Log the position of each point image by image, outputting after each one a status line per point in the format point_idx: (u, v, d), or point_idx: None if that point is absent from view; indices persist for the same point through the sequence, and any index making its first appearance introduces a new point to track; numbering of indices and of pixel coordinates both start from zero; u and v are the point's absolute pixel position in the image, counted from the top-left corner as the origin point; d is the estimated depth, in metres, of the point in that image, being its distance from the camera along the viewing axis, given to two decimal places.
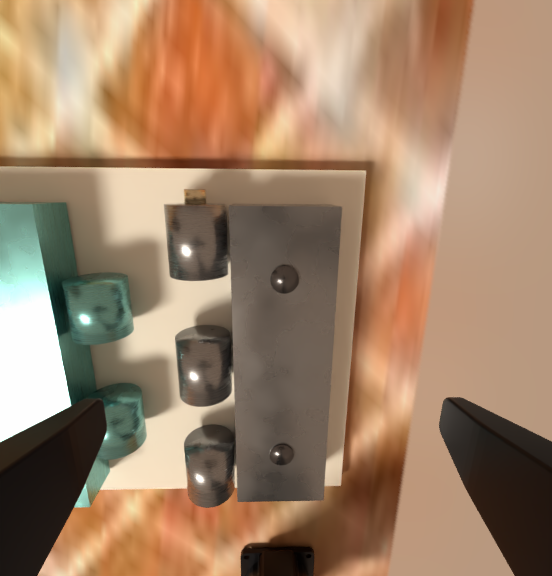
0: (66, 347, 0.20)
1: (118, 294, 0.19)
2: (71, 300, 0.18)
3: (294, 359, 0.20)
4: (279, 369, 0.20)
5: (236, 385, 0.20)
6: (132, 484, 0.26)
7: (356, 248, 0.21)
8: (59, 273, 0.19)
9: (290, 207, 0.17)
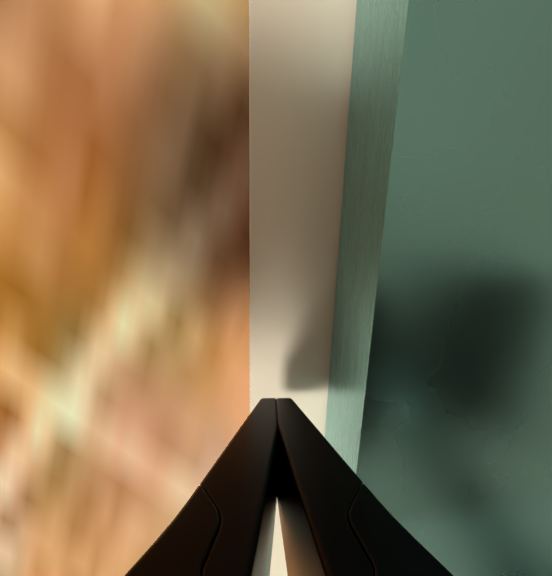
0: None
1: None
2: None
3: None
4: None
5: None
6: None
7: None
8: None
9: None
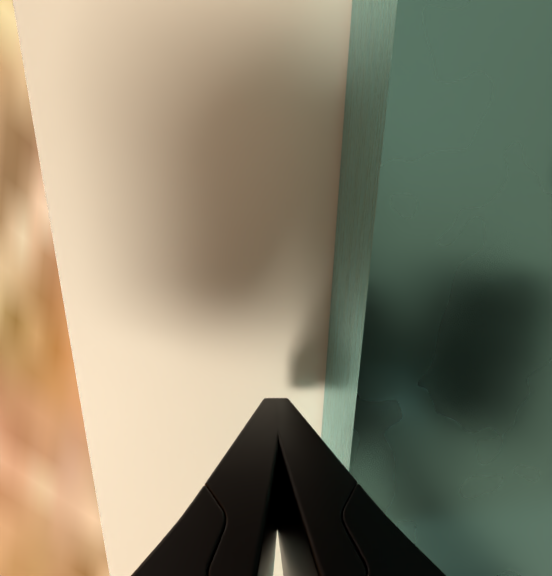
0: None
1: None
2: None
3: None
4: None
5: None
6: None
7: None
8: None
9: None
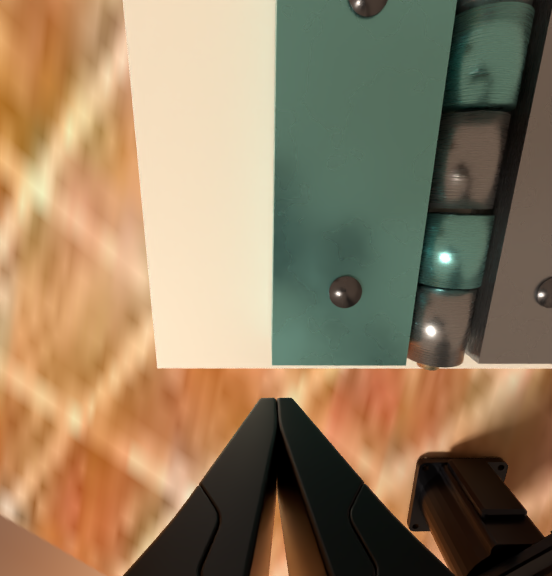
0: None
1: (529, 35, 0.14)
2: (488, 28, 0.13)
3: None
4: None
5: (519, 181, 0.15)
6: None
7: None
8: None
9: None
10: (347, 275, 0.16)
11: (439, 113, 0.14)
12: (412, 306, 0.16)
